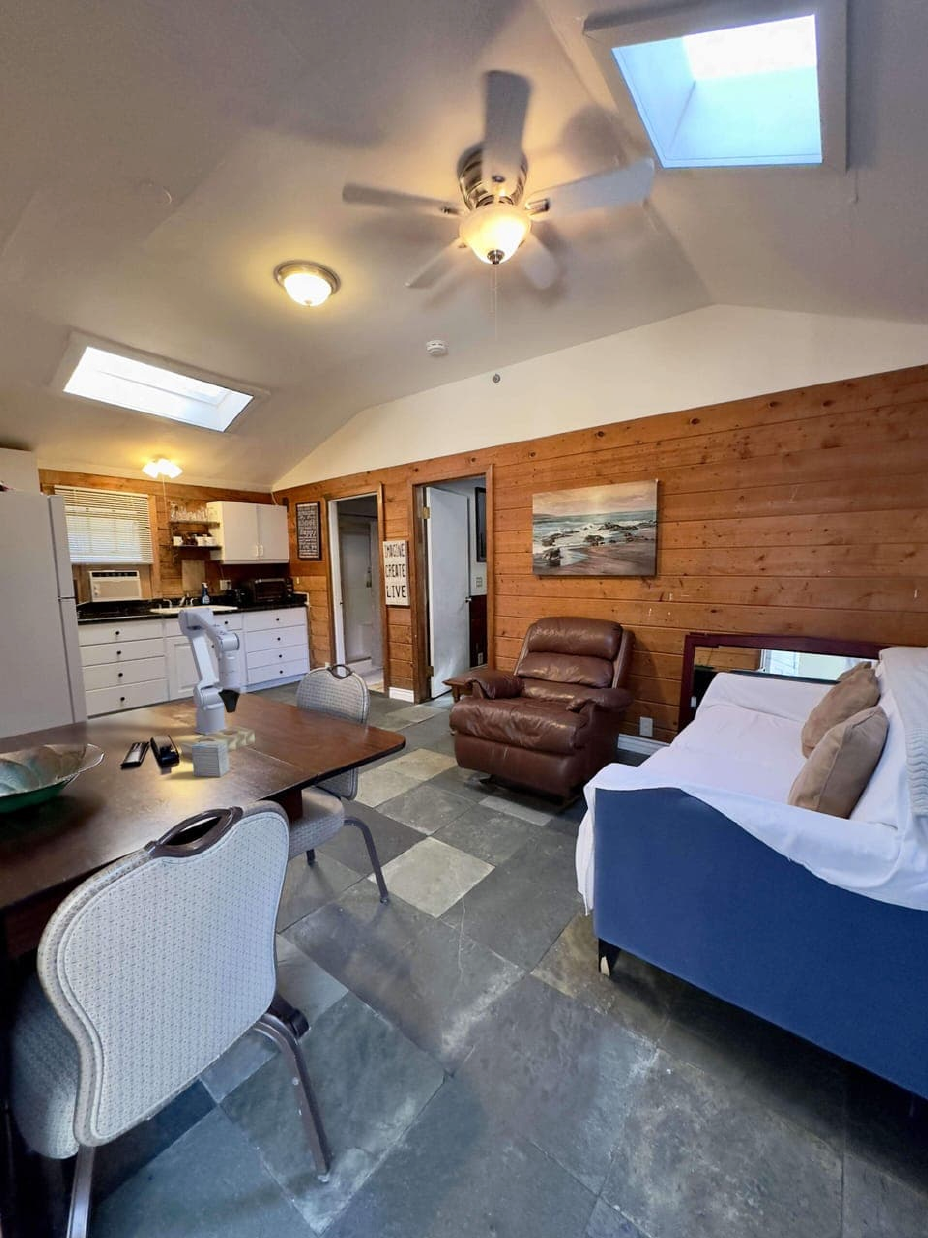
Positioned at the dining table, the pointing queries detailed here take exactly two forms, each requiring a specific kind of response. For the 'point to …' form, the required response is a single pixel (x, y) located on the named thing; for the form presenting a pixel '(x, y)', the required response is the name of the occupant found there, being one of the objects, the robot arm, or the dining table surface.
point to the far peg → (230, 732)
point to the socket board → (233, 741)
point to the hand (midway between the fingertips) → (231, 711)
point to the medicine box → (210, 758)
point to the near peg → (207, 739)
